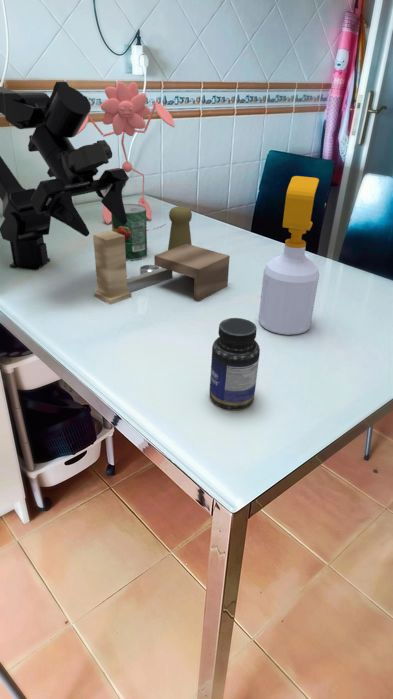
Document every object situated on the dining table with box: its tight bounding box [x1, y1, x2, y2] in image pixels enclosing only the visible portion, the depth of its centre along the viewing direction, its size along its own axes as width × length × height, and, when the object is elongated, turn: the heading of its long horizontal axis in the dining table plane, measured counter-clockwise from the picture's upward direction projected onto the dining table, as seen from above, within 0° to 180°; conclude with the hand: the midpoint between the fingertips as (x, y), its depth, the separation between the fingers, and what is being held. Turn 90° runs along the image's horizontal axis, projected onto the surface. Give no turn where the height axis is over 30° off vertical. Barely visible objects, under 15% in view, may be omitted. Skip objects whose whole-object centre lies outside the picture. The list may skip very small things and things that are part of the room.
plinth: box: [154, 244, 231, 302], centre depth 95 cm, size 11×10×6 cm
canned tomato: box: [111, 203, 148, 261], centre depth 109 cm, size 8×8×11 cm
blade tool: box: [92, 230, 173, 305], centre depth 93 cm, size 5×18×12 cm, turn 136°
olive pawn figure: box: [167, 205, 193, 251], centre depth 111 cm, size 6×6×11 cm
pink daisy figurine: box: [77, 81, 176, 230], centre depth 124 cm, size 15×26×35 cm, turn 110°
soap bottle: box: [258, 175, 320, 336], centre depth 78 cm, size 9×9×25 cm
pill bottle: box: [209, 317, 261, 411], centre depth 62 cm, size 6×6×11 cm
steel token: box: [139, 264, 160, 275], centre depth 101 cm, size 4×4×2 cm
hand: (107, 229), depth 85 cm, fingers open, 9 cm apart
